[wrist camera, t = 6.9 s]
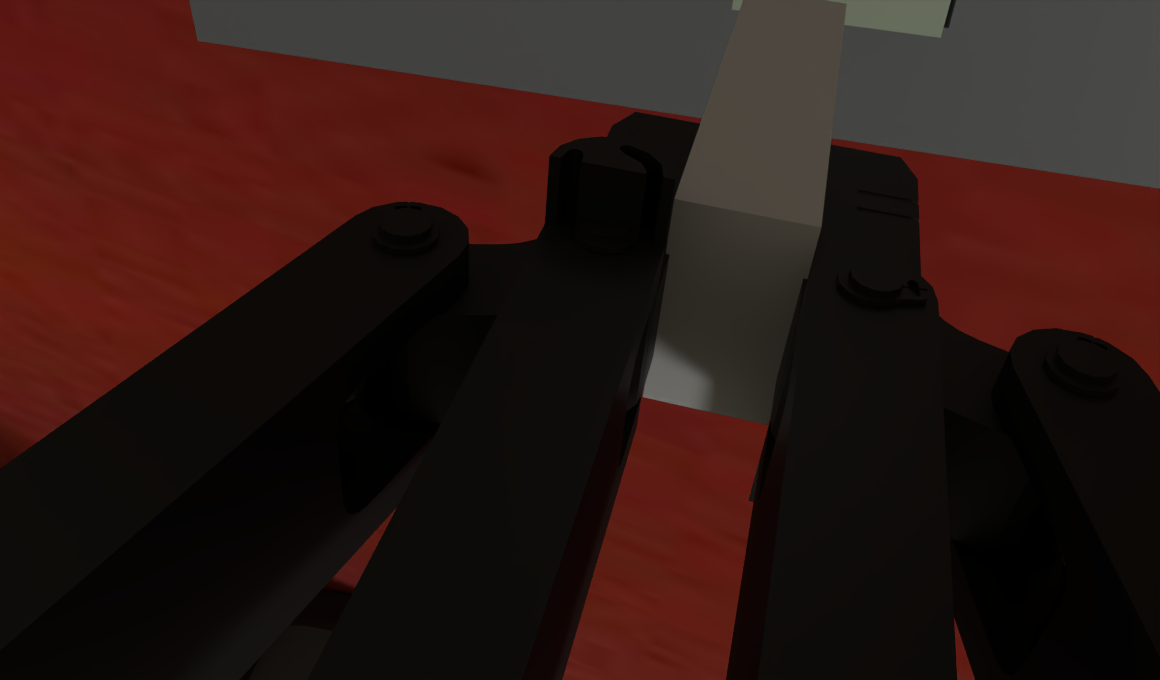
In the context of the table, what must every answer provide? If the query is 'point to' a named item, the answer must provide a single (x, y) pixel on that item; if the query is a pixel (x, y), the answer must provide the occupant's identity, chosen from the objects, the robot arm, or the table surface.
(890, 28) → the sage button
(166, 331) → the table surface
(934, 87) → the button panel
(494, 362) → the robot arm
